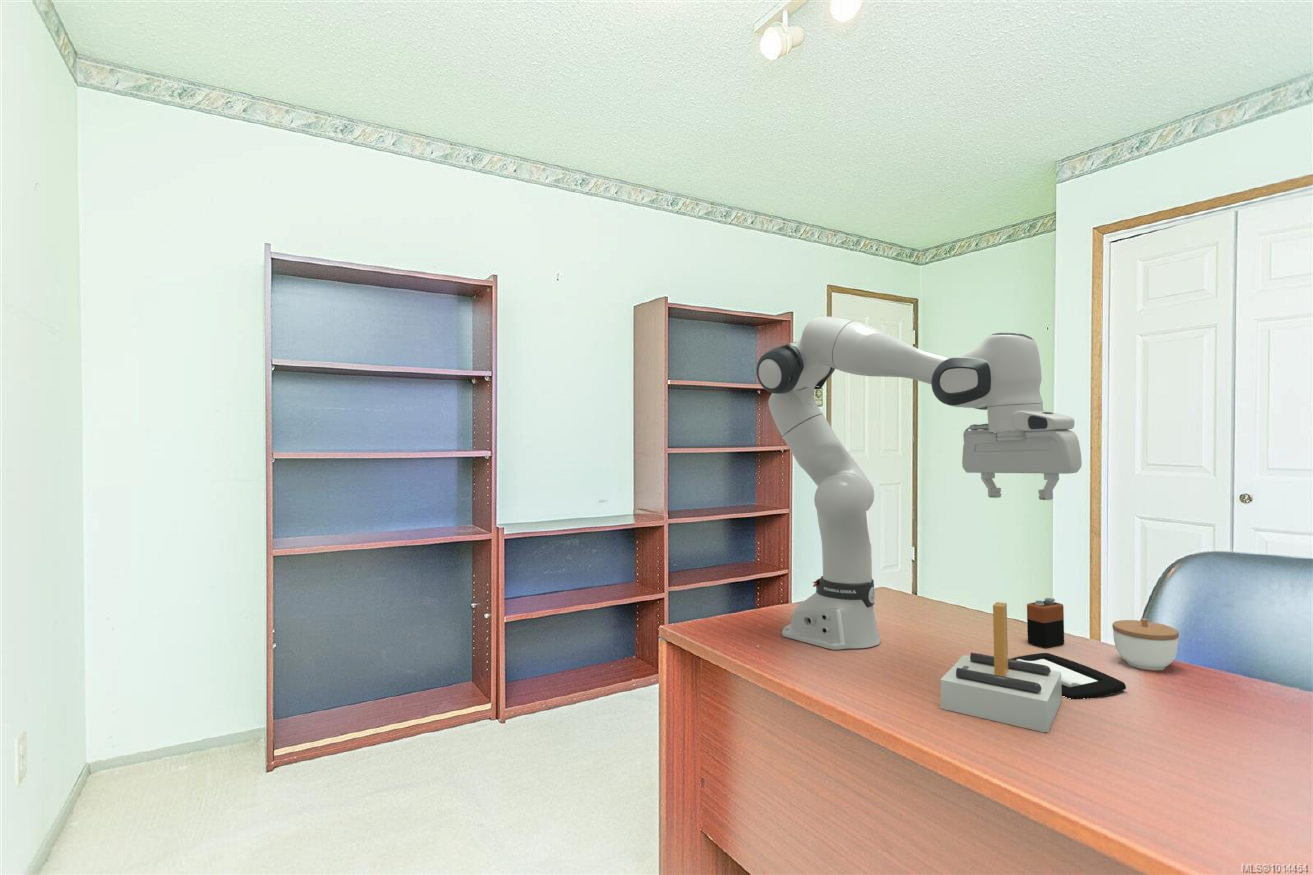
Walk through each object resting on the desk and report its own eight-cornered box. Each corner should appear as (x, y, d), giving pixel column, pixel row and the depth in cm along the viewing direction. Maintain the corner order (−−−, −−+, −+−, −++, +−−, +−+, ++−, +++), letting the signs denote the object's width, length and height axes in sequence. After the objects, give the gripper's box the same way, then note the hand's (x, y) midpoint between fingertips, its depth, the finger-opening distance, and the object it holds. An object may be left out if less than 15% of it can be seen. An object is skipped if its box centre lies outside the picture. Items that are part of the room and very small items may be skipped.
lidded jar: (1138, 654, 138) (1137, 610, 138) (1193, 670, 128) (1191, 623, 128) (1100, 660, 135) (1099, 615, 135) (1153, 677, 125) (1152, 628, 125)
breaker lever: (994, 674, 113) (992, 605, 113) (998, 669, 115) (996, 602, 115) (1004, 676, 112) (1003, 606, 112) (1008, 671, 114) (1006, 603, 114)
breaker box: (941, 708, 112) (940, 670, 112) (964, 680, 125) (963, 646, 125) (1048, 733, 102) (1047, 691, 102) (1061, 700, 115) (1060, 663, 115)
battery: (1065, 644, 145) (1064, 600, 145) (1044, 649, 142) (1043, 603, 142) (1047, 639, 149) (1046, 596, 149) (1026, 643, 146) (1025, 599, 146)
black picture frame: (989, 657, 133) (1045, 645, 136) (990, 671, 133) (1047, 659, 136) (1069, 693, 114) (1134, 678, 117) (1071, 709, 114) (1135, 694, 117)
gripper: (952, 425, 124) (956, 497, 124) (1063, 418, 106) (1067, 502, 106) (973, 424, 127) (977, 495, 127) (1084, 418, 109) (1088, 499, 109)
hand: (1019, 498), depth 116 cm, fingers open, 8 cm apart
